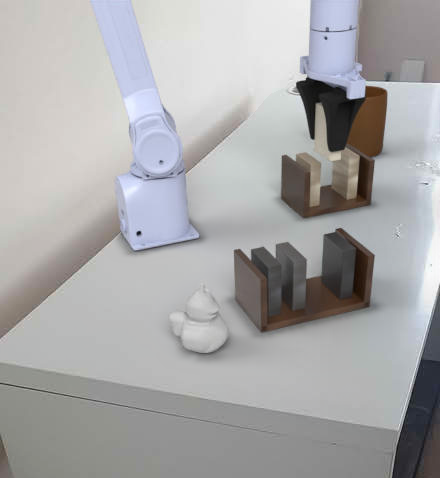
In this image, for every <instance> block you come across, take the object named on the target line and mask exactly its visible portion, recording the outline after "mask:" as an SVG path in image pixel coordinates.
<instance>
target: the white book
mask: <svg viewBox="0 0 440 478" xmlns="http://www.w3.org/2000/svg"><path fill="white" fill-rule="evenodd" d="M313 151H314V152H316V153H317V154H319V155H320V156H322V157H323V158H325V159H326V160H327V161H329V162H333V161H335V160H340V159H341V151H335V152H330V151H329V150H328V145H327V130H326V119H325V114H324V110H323V106H322V103H316V113H315V139H314V140H313Z"/></svg>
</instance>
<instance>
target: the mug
mask: <svg viewBox="0 0 440 478" xmlns="http://www.w3.org/2000/svg"><path fill="white" fill-rule="evenodd" d="M365 93H366V100H365V101H364V103H363V104H362V106H361V107H360V109H359V111H358V113H357V115H356V117H355V119H354V122H353V124H352V127H351V130H350V133H349V137H348V140H347V143H346V144H349V145H351V146H353V147H354V148H356V149H358V150H359V151H361V152H362V153H364V154H366V155H367V156H369V157H370V158H374V157H376V156H379V155H380V154H381V153H382V150H383V147H384V139H385V131H386V130H385V129H386V121H387V110H388V94H389V93H388V90H387V89H386V88H383V87H381V86H376V85H366V86H365Z"/></svg>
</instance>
